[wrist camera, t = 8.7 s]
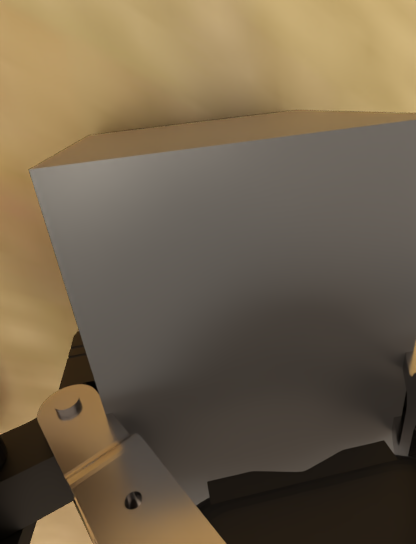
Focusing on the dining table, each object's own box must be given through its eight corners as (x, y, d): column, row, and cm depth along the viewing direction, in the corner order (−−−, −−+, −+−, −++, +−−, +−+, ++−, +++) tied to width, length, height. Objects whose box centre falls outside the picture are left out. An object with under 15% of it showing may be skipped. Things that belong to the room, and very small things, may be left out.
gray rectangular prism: (294, 385, 17) (378, 537, 11) (153, 415, 16) (162, 594, 10) (296, 110, 12) (458, 114, 6) (89, 134, 11) (28, 169, 5)
